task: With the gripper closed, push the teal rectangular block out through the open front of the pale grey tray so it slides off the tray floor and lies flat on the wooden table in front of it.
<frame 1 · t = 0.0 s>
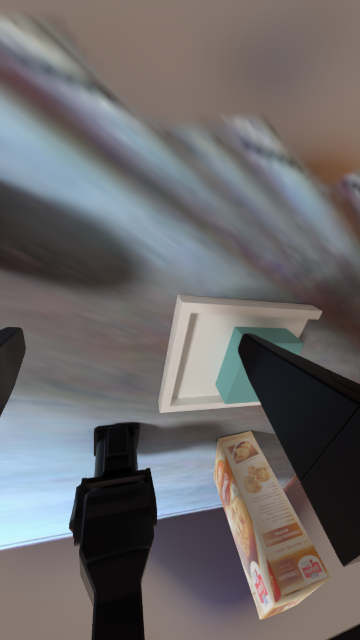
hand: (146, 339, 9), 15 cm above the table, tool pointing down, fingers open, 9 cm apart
coffeecake box: (230, 454, 46), on the table
tray: (231, 354, 32), on the table
teal rectangular block: (249, 357, 32), point 1 cm above the table, touching tray
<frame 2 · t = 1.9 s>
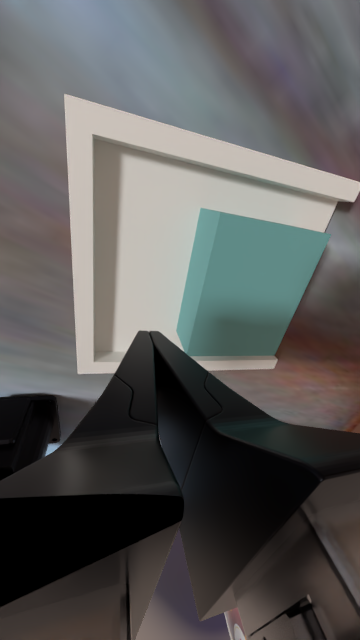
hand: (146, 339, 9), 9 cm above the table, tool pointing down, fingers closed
coffeecake box: (212, 449, 33), on the table
tray: (201, 276, 19), on the table
teal rectangular block: (231, 281, 19), point 1 cm above the table, touching tray
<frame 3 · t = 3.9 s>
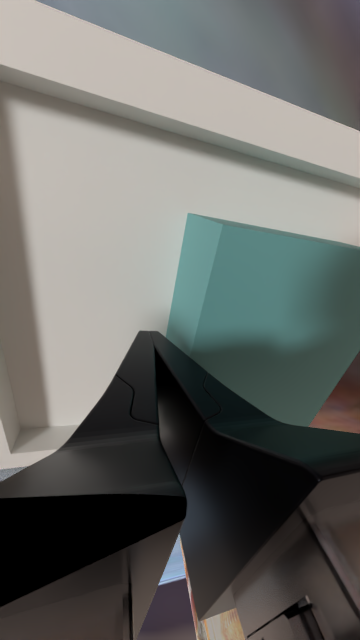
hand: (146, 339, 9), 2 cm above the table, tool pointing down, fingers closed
coffeecake box: (206, 511, 26), on the table
tray: (184, 316, 12), on the table
teal rectangular block: (238, 324, 12), point 1 cm above the table, touching tray
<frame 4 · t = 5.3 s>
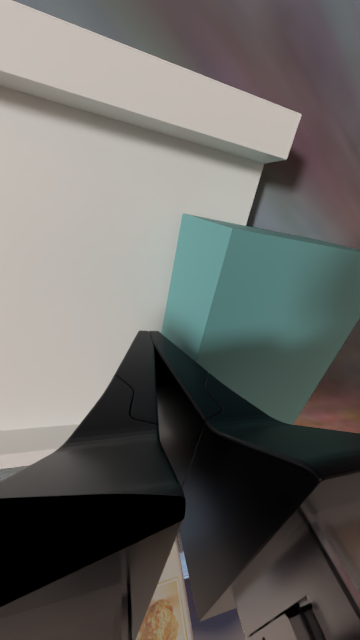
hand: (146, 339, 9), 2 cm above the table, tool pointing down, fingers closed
coffeecake box: (140, 526, 24), on the table
tray: (16, 308, 10), on the table
teal rectangular block: (230, 323, 13), on the table, tilted 7°, touching tray
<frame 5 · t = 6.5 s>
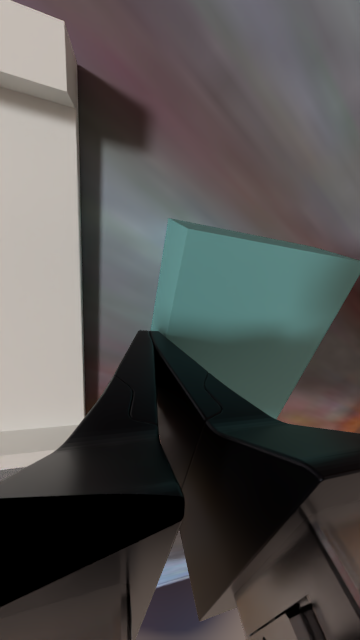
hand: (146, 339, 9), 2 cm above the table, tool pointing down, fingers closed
teal rectangular block: (216, 319, 13), on the table, touching gripper
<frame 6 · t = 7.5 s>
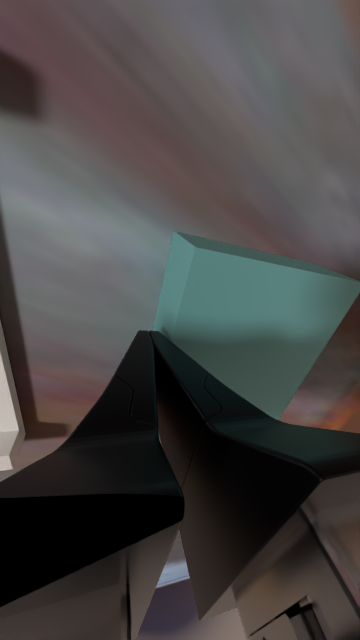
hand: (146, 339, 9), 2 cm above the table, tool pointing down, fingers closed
teal rectangular block: (216, 329, 14), on the table, touching gripper
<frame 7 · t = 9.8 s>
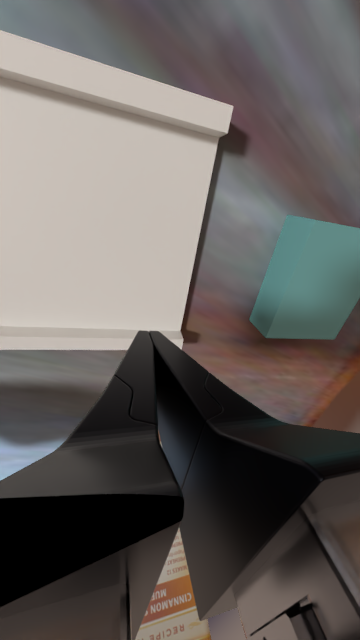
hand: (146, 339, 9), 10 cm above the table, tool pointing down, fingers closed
coffeecake box: (145, 442, 30), on the table
tray: (65, 235, 16), on the table
teal rectangular block: (299, 276, 22), on the table
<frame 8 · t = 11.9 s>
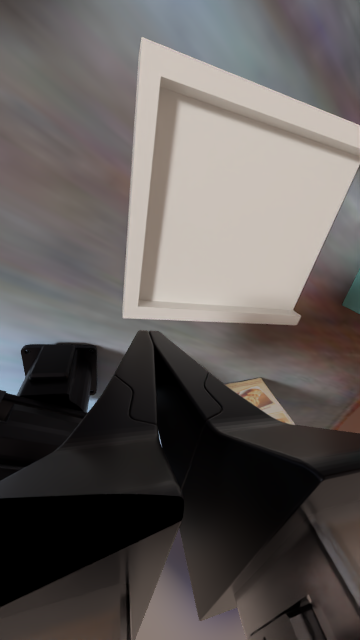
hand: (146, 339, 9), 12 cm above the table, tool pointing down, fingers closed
coffeecake box: (232, 414, 35), on the table
tray: (236, 229, 20), on the table
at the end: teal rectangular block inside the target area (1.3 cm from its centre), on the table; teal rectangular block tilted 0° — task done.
